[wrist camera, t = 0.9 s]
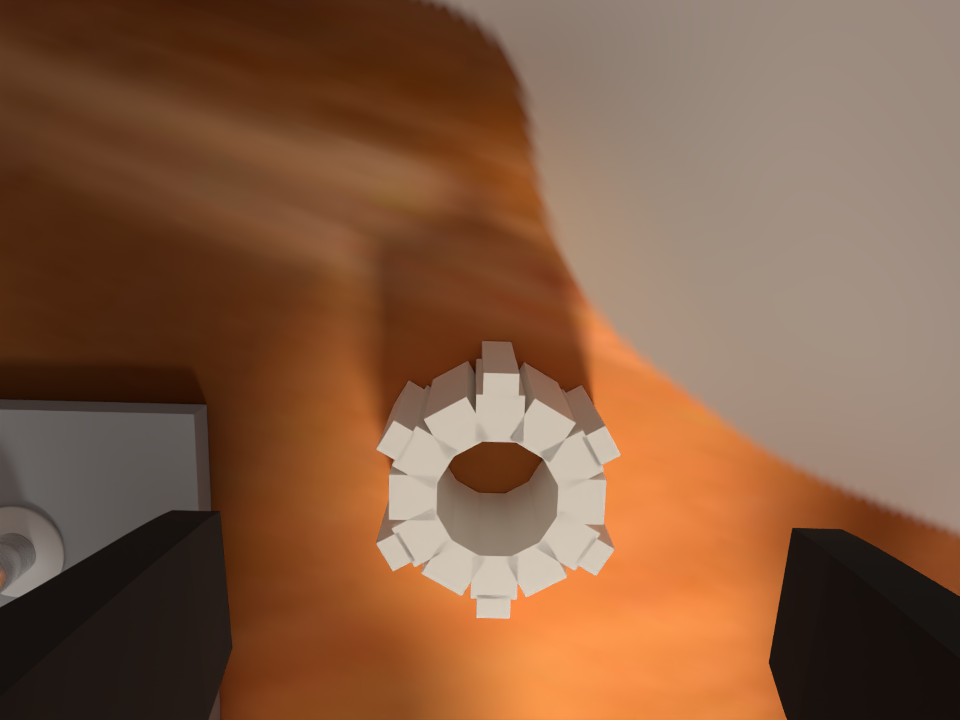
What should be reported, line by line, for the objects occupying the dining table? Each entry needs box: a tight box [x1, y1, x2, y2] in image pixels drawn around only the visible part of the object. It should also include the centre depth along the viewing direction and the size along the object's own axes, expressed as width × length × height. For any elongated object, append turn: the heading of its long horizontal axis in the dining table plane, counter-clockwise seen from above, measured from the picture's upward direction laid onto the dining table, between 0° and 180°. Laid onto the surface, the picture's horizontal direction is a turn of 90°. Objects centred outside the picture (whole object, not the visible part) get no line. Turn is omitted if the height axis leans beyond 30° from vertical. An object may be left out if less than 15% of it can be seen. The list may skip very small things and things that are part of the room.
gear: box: [376, 341, 621, 619], centre depth 20 cm, size 6×6×4 cm
